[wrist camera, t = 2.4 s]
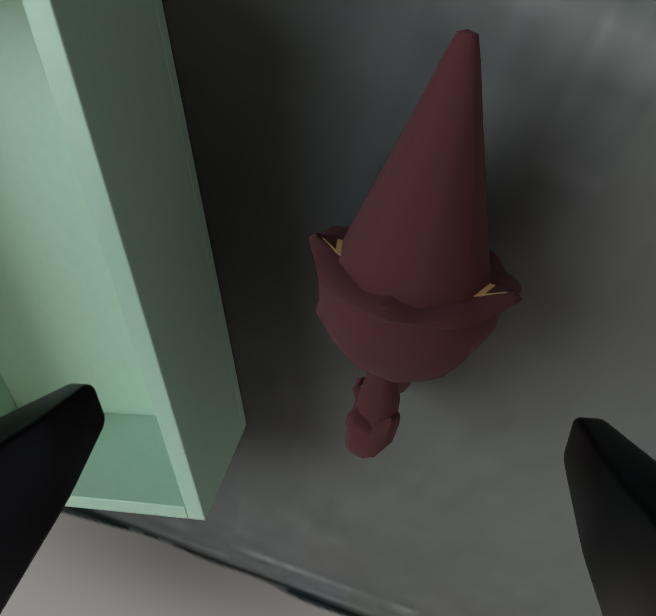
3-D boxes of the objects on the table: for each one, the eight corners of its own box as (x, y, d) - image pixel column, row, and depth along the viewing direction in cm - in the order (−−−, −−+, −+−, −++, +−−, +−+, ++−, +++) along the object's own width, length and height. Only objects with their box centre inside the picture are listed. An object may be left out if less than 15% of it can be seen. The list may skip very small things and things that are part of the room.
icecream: (277, 12, 10) (264, 441, 19) (639, 67, 8) (440, 519, 17) (377, 9, 16) (331, 345, 24) (613, 42, 14) (471, 397, 22)
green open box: (150, -62, 15) (16, -115, 10) (247, 424, 26) (205, 520, 21) (-200, -19, 18) (-454, -45, 13) (18, 409, 28) (-71, 492, 23)
